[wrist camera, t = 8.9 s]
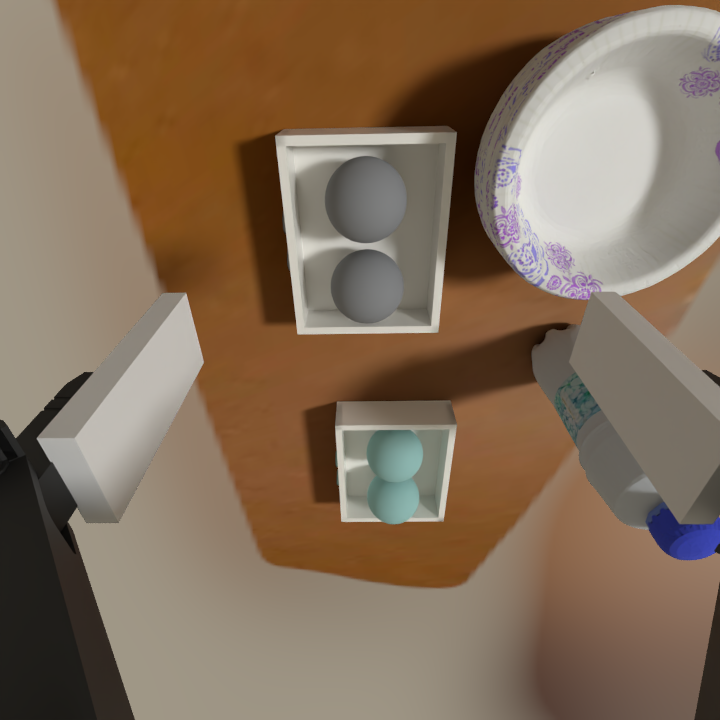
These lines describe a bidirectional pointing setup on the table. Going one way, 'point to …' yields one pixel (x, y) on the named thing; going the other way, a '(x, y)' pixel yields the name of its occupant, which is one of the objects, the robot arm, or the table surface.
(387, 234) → the charcoal ball
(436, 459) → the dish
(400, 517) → the teal ball
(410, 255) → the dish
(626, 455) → the bottle
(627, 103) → the paper bowls
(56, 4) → the table surface
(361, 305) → the charcoal ball
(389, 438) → the teal ball
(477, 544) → the table surface
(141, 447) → the robot arm
